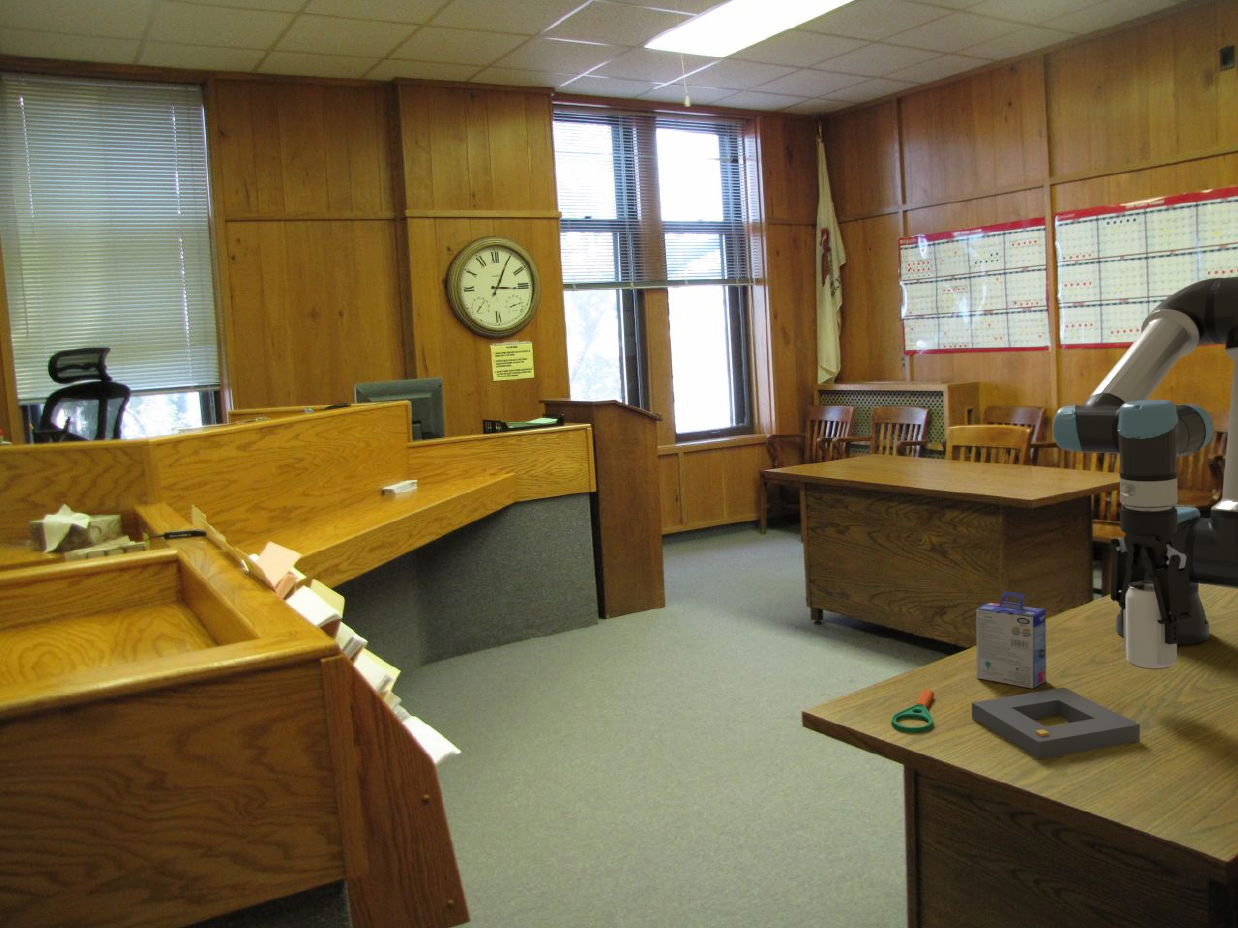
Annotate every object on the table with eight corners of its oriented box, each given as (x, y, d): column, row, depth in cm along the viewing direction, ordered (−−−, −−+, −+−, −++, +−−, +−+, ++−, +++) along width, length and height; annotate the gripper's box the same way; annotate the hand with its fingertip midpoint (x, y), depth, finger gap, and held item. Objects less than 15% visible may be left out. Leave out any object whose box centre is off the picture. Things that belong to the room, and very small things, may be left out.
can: (1170, 656, 155) (1170, 579, 153) (1178, 670, 149) (1178, 591, 147) (1123, 654, 157) (1122, 579, 155) (1129, 669, 151) (1128, 591, 149)
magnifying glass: (928, 737, 149) (928, 726, 148) (886, 732, 151) (886, 721, 151) (947, 701, 162) (947, 691, 162) (909, 697, 165) (909, 687, 164)
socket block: (1064, 702, 157) (1064, 684, 157) (1139, 741, 142) (1139, 721, 141) (972, 718, 153) (971, 699, 153) (1038, 759, 138) (1038, 739, 138)
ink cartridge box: (1048, 680, 167) (1047, 594, 165) (1035, 690, 163) (1033, 602, 161) (989, 669, 174) (988, 587, 172) (975, 679, 170) (973, 594, 168)
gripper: (1082, 499, 158) (1085, 641, 161) (1176, 520, 139) (1177, 680, 143) (1123, 493, 160) (1125, 634, 163) (1222, 513, 141) (1222, 672, 144)
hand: (1149, 656), depth 153 cm, fingers closed on can, 6 cm apart
